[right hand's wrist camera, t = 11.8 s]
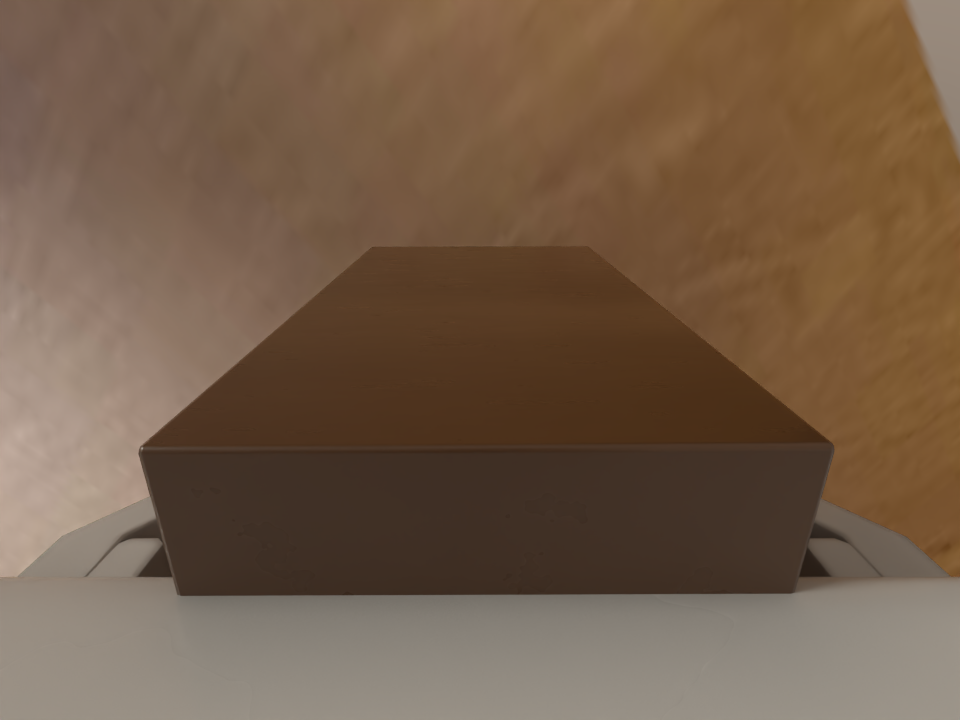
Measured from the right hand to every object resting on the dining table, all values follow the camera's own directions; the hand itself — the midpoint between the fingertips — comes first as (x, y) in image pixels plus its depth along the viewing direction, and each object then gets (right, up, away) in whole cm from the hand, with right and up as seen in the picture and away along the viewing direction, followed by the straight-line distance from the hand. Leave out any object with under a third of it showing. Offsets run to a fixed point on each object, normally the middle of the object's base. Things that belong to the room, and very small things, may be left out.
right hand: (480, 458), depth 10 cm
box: (0, -5, +7) cm, 9 cm away
